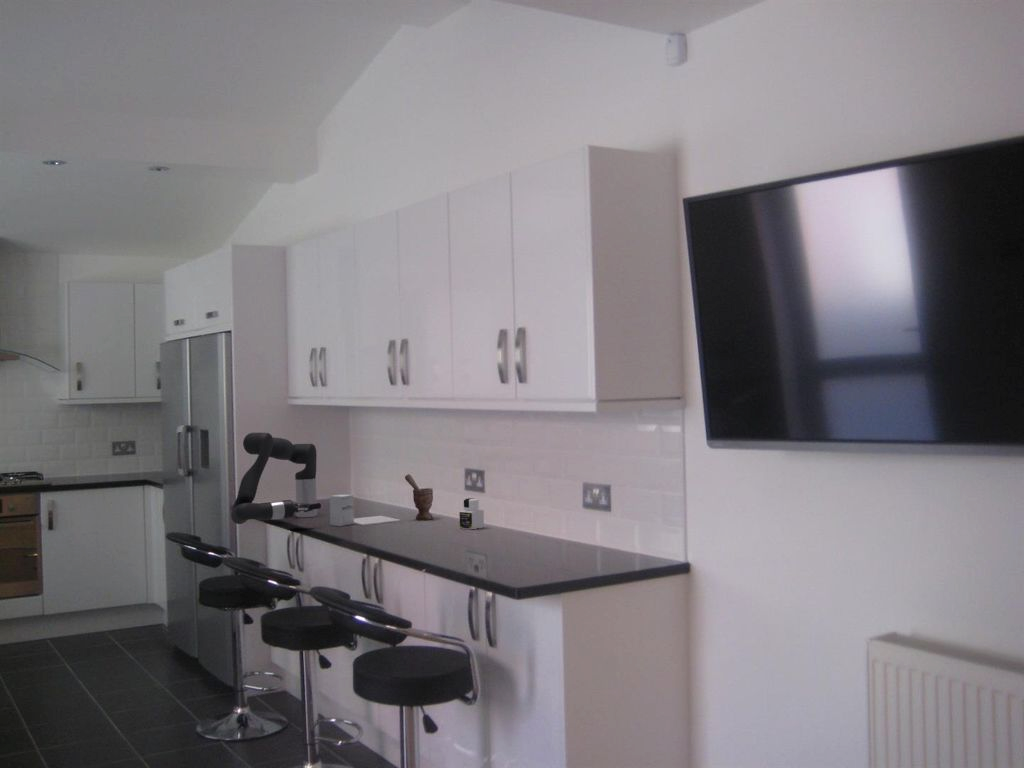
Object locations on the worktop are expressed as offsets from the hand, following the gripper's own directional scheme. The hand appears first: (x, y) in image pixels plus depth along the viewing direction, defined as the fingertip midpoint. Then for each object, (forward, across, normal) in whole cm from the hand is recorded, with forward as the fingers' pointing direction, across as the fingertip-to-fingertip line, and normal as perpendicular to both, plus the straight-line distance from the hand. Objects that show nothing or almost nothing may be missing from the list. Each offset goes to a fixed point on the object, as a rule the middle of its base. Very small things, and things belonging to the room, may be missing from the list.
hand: (320, 505), depth 444 cm
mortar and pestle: (+42, -11, +9) cm, 44 cm away
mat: (+24, 0, +9) cm, 25 cm away
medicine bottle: (+45, -50, +9) cm, 68 cm away
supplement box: (+10, 0, +9) cm, 13 cm away
